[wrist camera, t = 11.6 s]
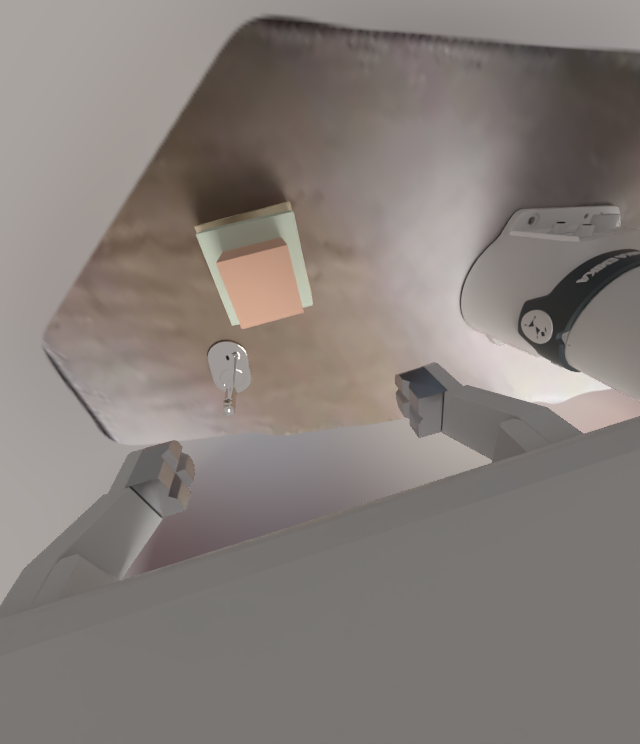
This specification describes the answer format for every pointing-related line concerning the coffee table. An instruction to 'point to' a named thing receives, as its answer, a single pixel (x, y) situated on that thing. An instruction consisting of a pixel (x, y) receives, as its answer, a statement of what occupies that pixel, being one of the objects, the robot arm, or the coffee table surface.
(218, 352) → the stand
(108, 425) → the coffee table surface
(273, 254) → the terracotta block
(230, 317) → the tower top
